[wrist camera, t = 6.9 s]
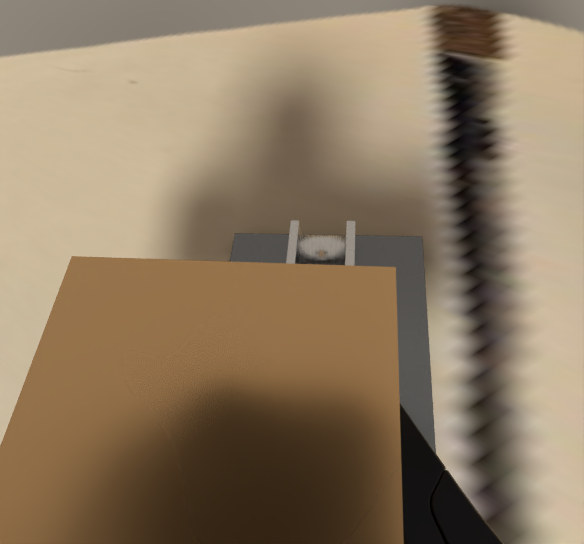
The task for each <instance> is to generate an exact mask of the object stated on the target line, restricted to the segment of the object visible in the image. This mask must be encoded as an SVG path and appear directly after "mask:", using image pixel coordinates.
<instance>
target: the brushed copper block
mask: <svg viewBox="0 0 584 544" xmlns="http://www.w3.org/2000/svg"><path fill="white" fill-rule="evenodd" d="M0 544H404V538H403V503H402V467H401V432H400V397H399V362H398V326H397V291H396V267H380V266H350V265H319V264H289V263H258V262H228V261H197V260H167V259H136V258H106V257H76V256H72V258H71V260H70V263H69V265H68V268H67V271H66V273H65V276H64V279H63V281H62V284H61V287H60V289H59V292H58V295H57V297H56V300H55V303H54V305H53V308H52V311H51V313H50V316H49V319H48V321H47V324H46V327H45V329H44V332H43V335H42V337H41V340H40V343H39V345H38V348H37V350H36V353H35V356H34V358H33V361H32V364H31V366H30V369H29V372H28V374H27V377H26V380H25V382H24V385H23V388H22V390H21V393H20V396H19V398H18V401H17V404H16V406H15V409H14V412H13V414H12V417H11V420H10V422H9V425H8V428H7V430H6V433H5V435H4V438H3V441H2V443H1V446H0Z"/></svg>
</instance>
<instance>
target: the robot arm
mask: <svg viewBox="0 0 584 544" xmlns="http://www.w3.org/2000/svg"><path fill="white" fill-rule="evenodd" d="M400 432H401V467H402V503H403V538H404V544H503V542H502V541H501V540H500V539H499V537H498V536H497V535H496V534H495V533H494V531H493V530H492V529H491V528H490V526H489V525H488V524H487V523H486V521H485V520H484V519H483V518H482V516H481V515H480V514H479V513H478V511H477V510H476V509H475V507H474V506H473V505H472V503H471V502H470V501H469V499H468V498H467V497H466V495H465V494H464V493H463V491H462V490H461V488H460V487H459V486H458V484H457V483H456V481H455V480H454V479H453V477H452V476H451V474H450V473H449V471H447V470H445V469H446V468H445V466H444V465H443V463H442V462H441V460H440V459H439V457H438V456H437V455H436V453H435V452H434V450H433V449H432V448H431V446H430V445H429V443H428V442H427V440H426V439H425V438H424V436H423V435H422V433H421V432H420V431H419V429H418V428H417V426H416V425H415V423H414V422H413V421H412V419H411V418H410V416H409V415H408V413H407V412H406V411H405V409H404V408H403V406H402V405H401V404H400Z"/></svg>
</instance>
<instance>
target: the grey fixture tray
mask: <svg viewBox="0 0 584 544" xmlns="http://www.w3.org/2000/svg"><path fill="white" fill-rule="evenodd" d="M230 262H258V263H289V264H319V265H350V266H380V267H396V291H397V326H398V362H399V397H400V404H401V405H402V406H403V408H404V409H405V411H406V412H407V413H408V415H409V416H410V418H411V419H412V421H413V422H414V423H415V425H416V426H417V428H418V429H419V431H420V432H421V433H422V435H423V436H424V438H425V439H426V440H427V442H428V443H429V445H430V446H431V448H432V449H433V450H434V452H435V453H436V449H435V433H434V417H433V401H432V385H431V369H430V353H429V336H428V320H427V304H426V288H425V272H424V256H423V240H422V237H417V236H358V235H355V221H347V225H346V235H302V231H301V227H300V222H299V220H291V223H290V233H289V234H241V233H235V236H234V242H233V247H232V253H231V259H230Z"/></svg>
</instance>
